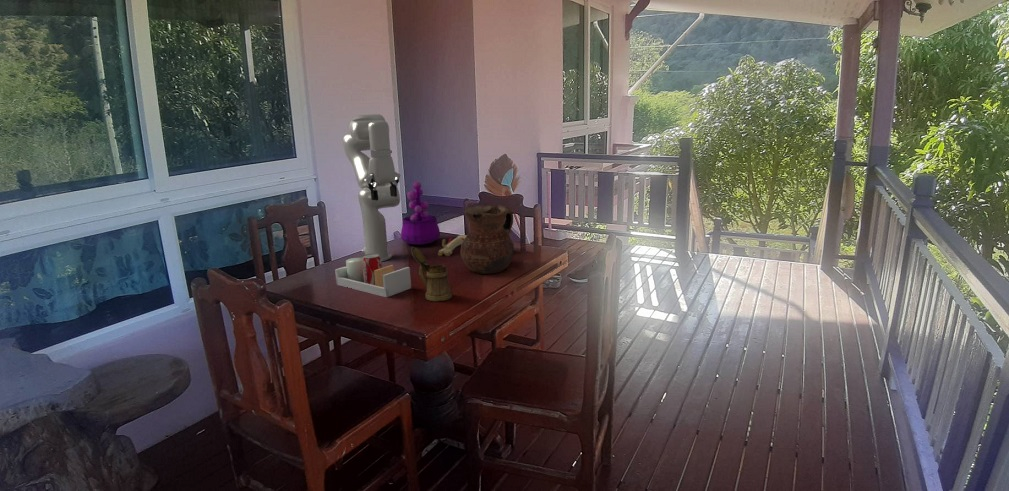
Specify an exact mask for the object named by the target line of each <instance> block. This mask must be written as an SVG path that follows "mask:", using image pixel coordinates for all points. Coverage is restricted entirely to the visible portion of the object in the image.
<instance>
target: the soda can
mask: <svg viewBox="0 0 1009 491" xmlns="http://www.w3.org/2000/svg"><path fill="white" fill-rule="evenodd" d="M363 256H364V258H363V257H362V258H363V261H362V264H363V275H364V283H367V284H371V285H375V275H374V270H377V269H380V268H383V261H382V260H381V258H380V257H379V254H367V255H365V254H364V255H363Z"/></svg>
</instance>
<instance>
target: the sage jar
mask: <svg viewBox="0 0 1009 491" xmlns="http://www.w3.org/2000/svg"><path fill="white" fill-rule="evenodd" d="M362 261H363V257H353V258H352V257H351V258H348V259H346V260H345V265H346V267H347V276H348V279H350V280H355V281H359V282H363V283H364V275H363V264H362Z"/></svg>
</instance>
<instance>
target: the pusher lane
mask: <svg viewBox="0 0 1009 491" xmlns="http://www.w3.org/2000/svg"><path fill="white" fill-rule="evenodd" d="M334 272H335V273H334V274H335V282H336V286H340V287H344V288H347V287H348V288H349V289H351V288H352V290H355V291H361V292H364V293H369V294H371V295H374V296H380V297H384V298H388V297H391V296H394V295H396V294H399V293H402V292H405V291H407V290H410V289H412V282H411V268H410V267H409V266H406V267H403V268H401V269H397V270H394V272H391V273H388V274H385V275H383V286H384V287H380V286H375V285H371V284H367V283H363V282H359V281H355V280H350V279H348V276H347V267H346V266H341V267H339V268H335V269H334Z"/></svg>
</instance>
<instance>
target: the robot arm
mask: <svg viewBox="0 0 1009 491" xmlns="http://www.w3.org/2000/svg"><path fill="white" fill-rule="evenodd" d="M348 130H349V132H348V133H346V134H345V135H344V136H343V138H342V145H343V151H344V153H345V156H346V157H347V159H348V161H349V162H350V164H351V165H352V167H353V171H354V174H355V178H356V179H355V180H356V182H357V185H358V187H359V188H360V190H359V192H358V196H357V198H358V202H359V206H360V211H361V216H362V217H361V218H362V226H363V227H362V228H363V237H364V246H365V247H363V248H362V249H361V252H362V253H364V255H367V254H379V257H380V258H381V260H382V262H386V261H388V260H391V259H392V257H393V255H392V253H390V252H389V250H388V249H389V248H388V237H387V226H386V225H387V224H386V218H385V215H383V214H382V213H381V212H380V211H379V210H380V209H388V208H395V207H397V206H399V205H400V202H401V195H400V192H399V187H398V185H399V182H400V178H401V174H400V173H398V172H397V171H396V170H395V165H394V164H395V163H394V159H393V157H392V154H393V151H392V149H391V141H390V126H389V124H388V122H387V121H386V119H385V117H384V116H383V115H381V114H377V113H375V114H359V115H356V116H354V117H353V118H352V120H350V123H349V129H348ZM362 151H364V152H365V151H369V152H370V157H369V156H368V155H367V154H366V153H364V152H362ZM364 255H363V256H362V258H364Z"/></svg>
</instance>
